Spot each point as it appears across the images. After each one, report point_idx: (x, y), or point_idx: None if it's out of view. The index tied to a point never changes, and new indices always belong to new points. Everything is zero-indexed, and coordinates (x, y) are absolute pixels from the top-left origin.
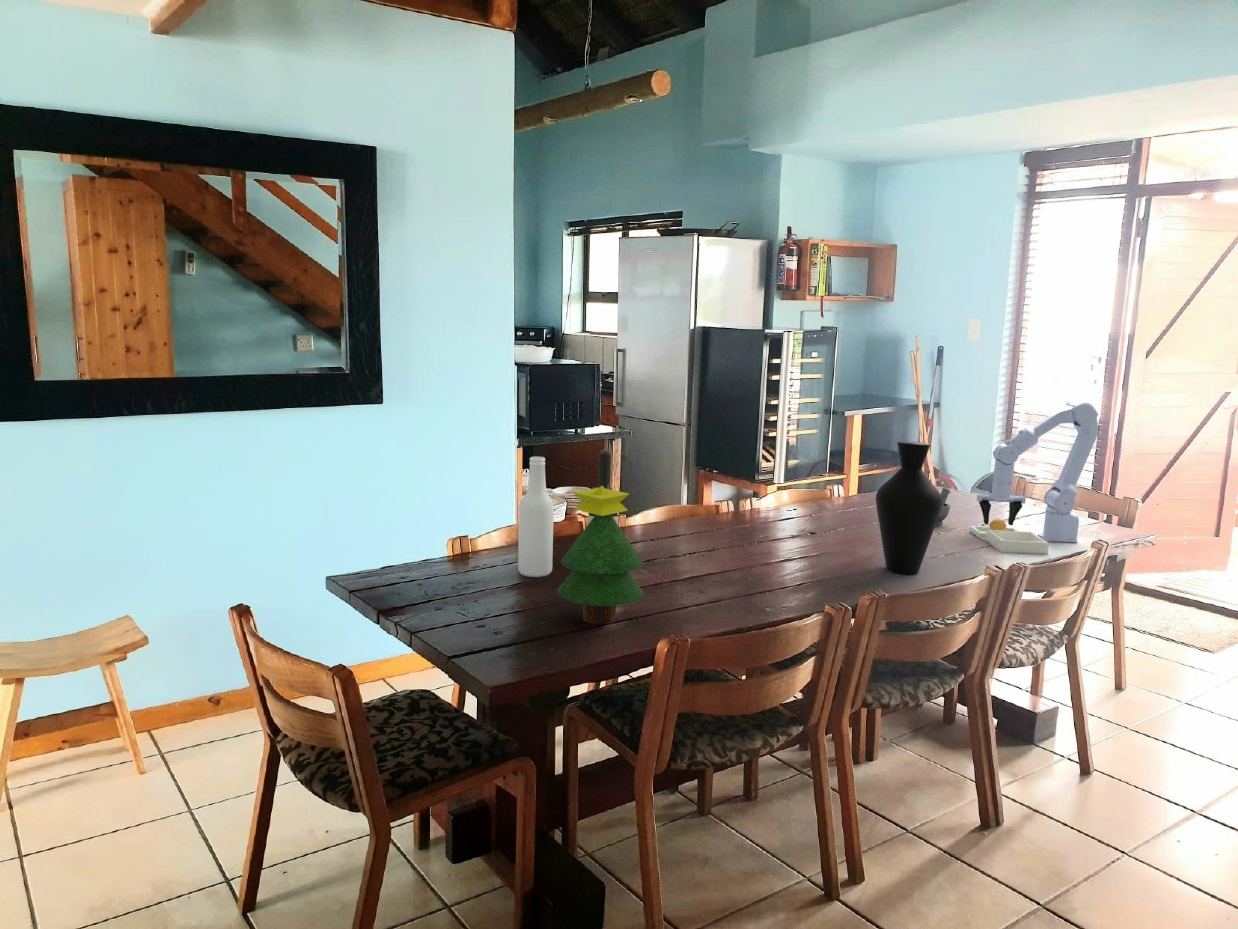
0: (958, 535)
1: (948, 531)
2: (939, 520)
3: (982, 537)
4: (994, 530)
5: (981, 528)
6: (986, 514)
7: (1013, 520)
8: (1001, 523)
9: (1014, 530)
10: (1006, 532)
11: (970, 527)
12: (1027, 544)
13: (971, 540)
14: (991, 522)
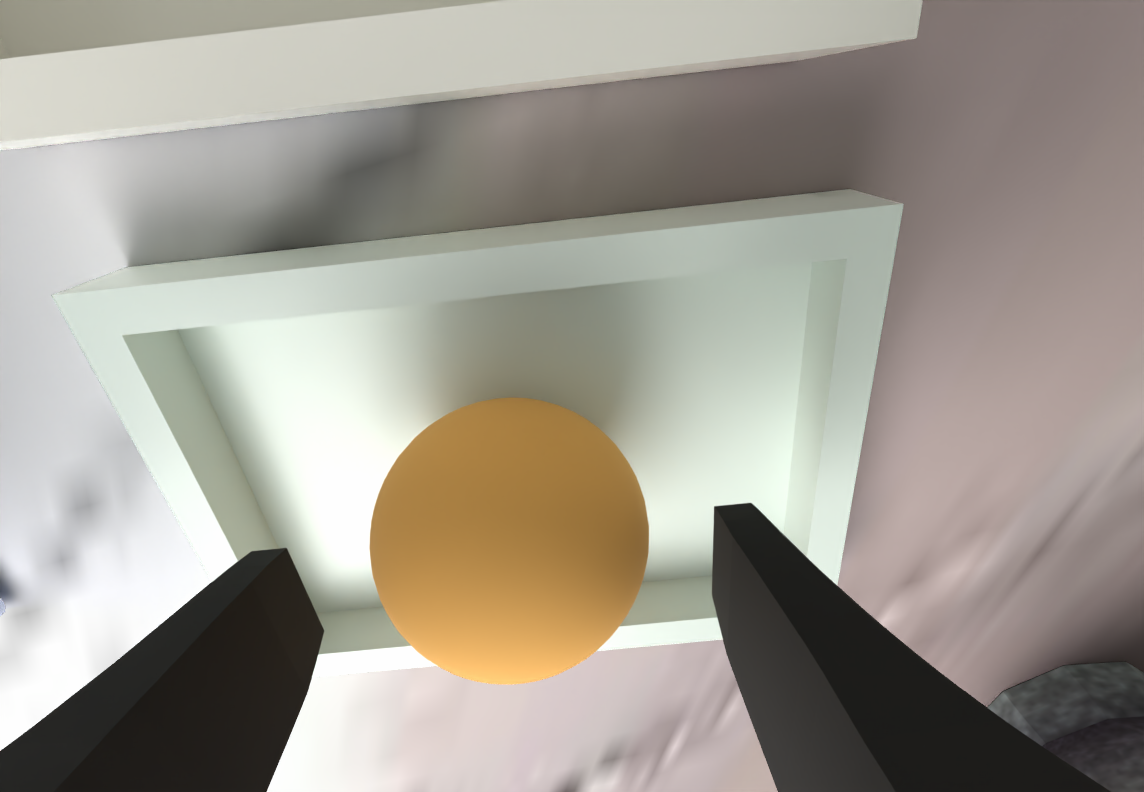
0: (1081, 331)
1: (1083, 504)
2: (1113, 730)
3: (818, 194)
4: (732, 11)
5: (687, 601)
6: (898, 651)
7: (176, 621)
8: (462, 507)
9: None
10: (413, 20)
11: None
12: None
13: (1065, 12)
14: (635, 577)
